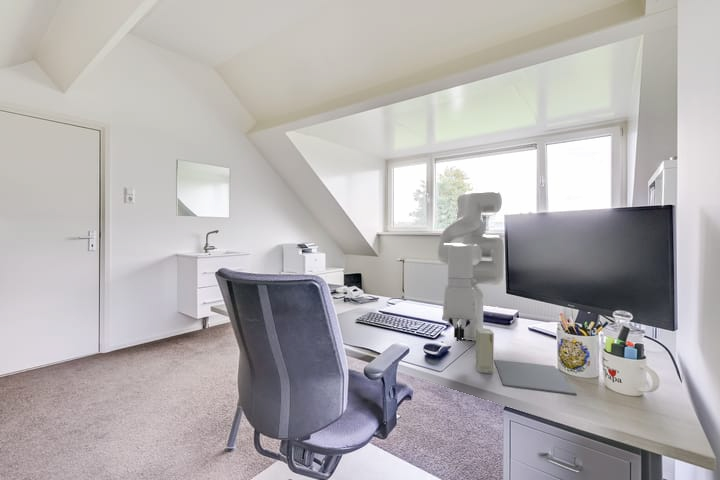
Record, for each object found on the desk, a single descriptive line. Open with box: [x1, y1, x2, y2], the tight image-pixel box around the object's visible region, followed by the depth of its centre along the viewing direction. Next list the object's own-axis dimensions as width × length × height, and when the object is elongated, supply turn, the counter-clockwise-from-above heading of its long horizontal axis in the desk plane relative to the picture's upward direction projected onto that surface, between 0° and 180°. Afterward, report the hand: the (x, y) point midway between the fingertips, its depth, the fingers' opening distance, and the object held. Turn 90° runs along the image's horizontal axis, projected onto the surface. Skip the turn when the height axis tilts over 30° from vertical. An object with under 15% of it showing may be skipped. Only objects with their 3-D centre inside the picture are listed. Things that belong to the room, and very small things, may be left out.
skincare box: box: [475, 327, 495, 374], centre depth 100 cm, size 6×4×12 cm
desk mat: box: [493, 359, 577, 396], centre depth 96 cm, size 18×18×1 cm
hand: (458, 339), depth 102 cm, fingers closed
